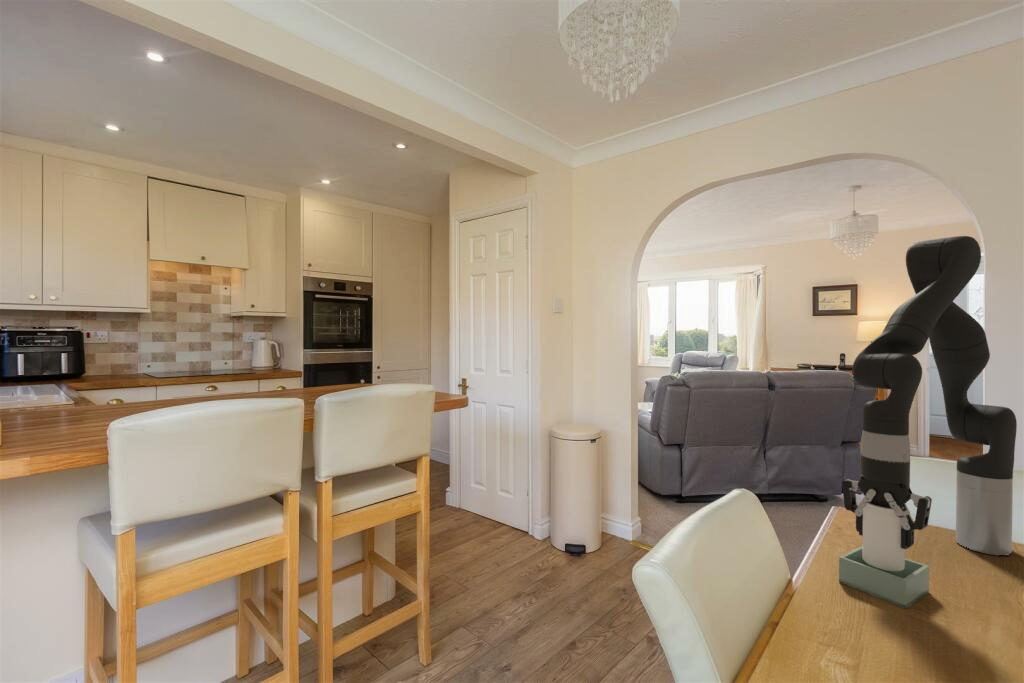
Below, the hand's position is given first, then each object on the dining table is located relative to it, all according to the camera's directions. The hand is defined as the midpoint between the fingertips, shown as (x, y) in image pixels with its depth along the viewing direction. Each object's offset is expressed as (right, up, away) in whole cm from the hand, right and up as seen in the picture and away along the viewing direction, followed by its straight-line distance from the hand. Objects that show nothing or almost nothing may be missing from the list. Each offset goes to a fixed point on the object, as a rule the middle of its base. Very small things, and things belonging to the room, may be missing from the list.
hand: (883, 540), depth 91 cm
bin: (0, -9, 0) cm, 9 cm away
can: (0, -5, 0) cm, 5 cm away
